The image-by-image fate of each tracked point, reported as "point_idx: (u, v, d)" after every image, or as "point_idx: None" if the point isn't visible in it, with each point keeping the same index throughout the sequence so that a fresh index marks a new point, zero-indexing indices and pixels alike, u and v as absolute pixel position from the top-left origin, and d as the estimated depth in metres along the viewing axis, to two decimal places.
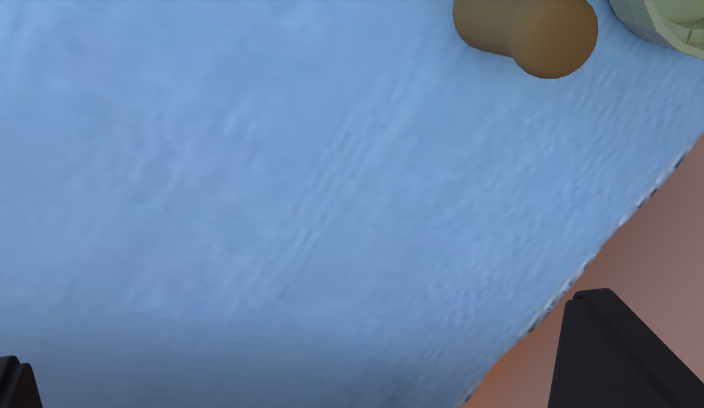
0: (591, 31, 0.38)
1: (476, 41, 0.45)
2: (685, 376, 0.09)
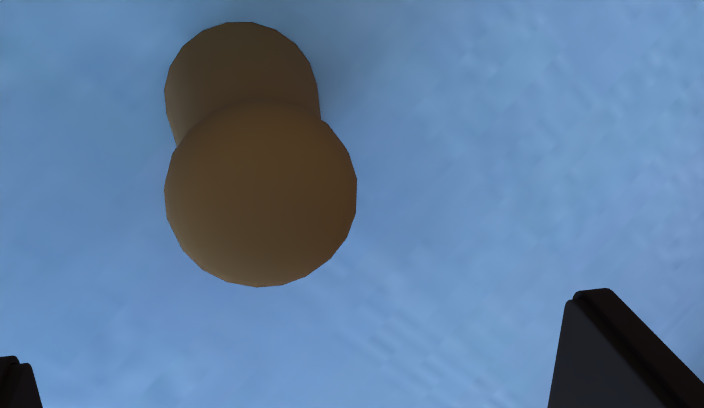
0: (266, 158, 0.16)
1: None
2: (685, 376, 0.09)
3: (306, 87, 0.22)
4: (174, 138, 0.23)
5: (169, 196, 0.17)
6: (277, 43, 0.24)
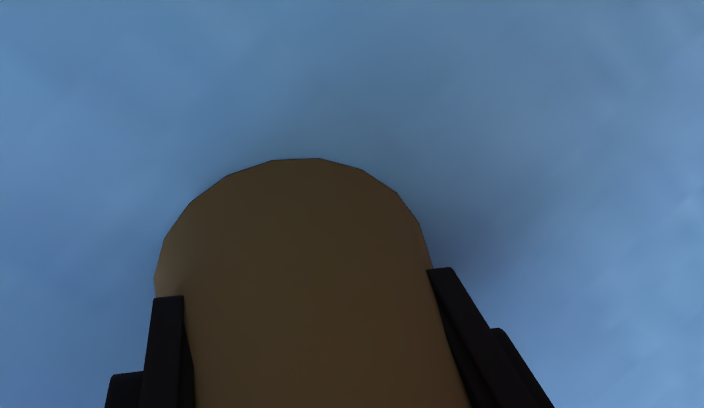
0: None
1: None
2: (489, 345, 0.10)
3: None
4: None
5: None
6: (373, 212, 0.12)
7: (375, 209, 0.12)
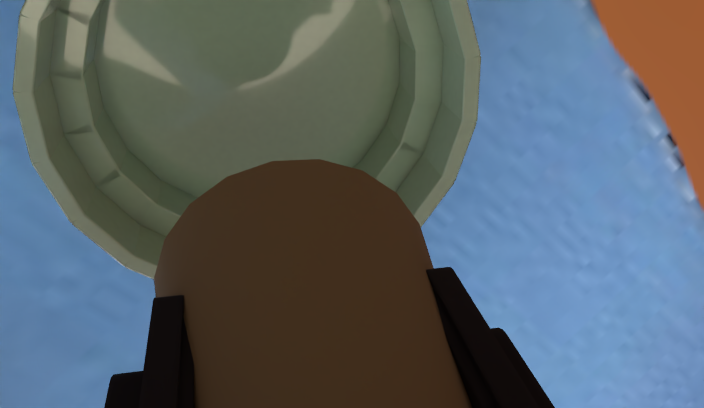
0: None
1: None
2: (489, 345, 0.10)
3: None
4: None
5: None
6: (373, 213, 0.12)
7: (375, 210, 0.12)
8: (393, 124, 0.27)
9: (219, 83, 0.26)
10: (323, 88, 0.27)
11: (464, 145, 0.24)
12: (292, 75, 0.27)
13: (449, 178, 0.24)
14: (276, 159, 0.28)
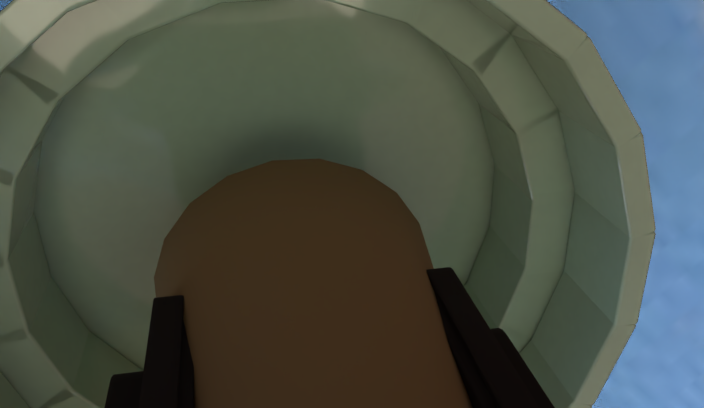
0: None
1: None
2: (489, 345, 0.10)
3: None
4: None
5: None
6: (373, 212, 0.12)
7: (375, 209, 0.12)
8: (482, 288, 0.19)
9: None
10: None
11: (613, 357, 0.15)
12: None
13: (584, 401, 0.16)
14: None
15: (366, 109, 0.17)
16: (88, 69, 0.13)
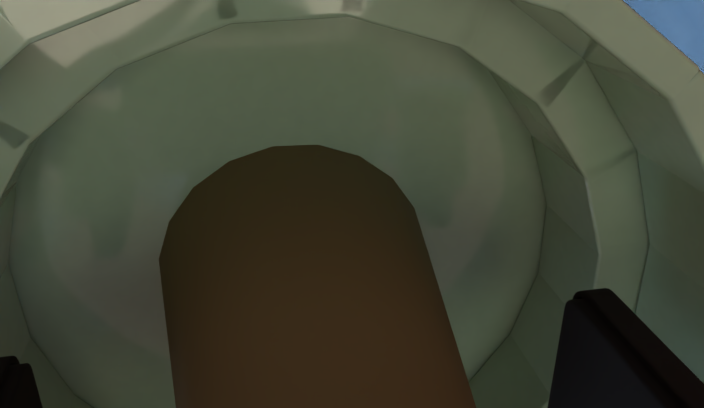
0: None
1: None
2: (685, 376, 0.09)
3: (437, 306, 0.11)
4: None
5: None
6: (369, 195, 0.13)
7: (371, 192, 0.13)
8: (530, 345, 0.16)
9: None
10: None
11: None
12: None
13: None
14: None
15: (401, 142, 0.14)
16: (66, 106, 0.10)
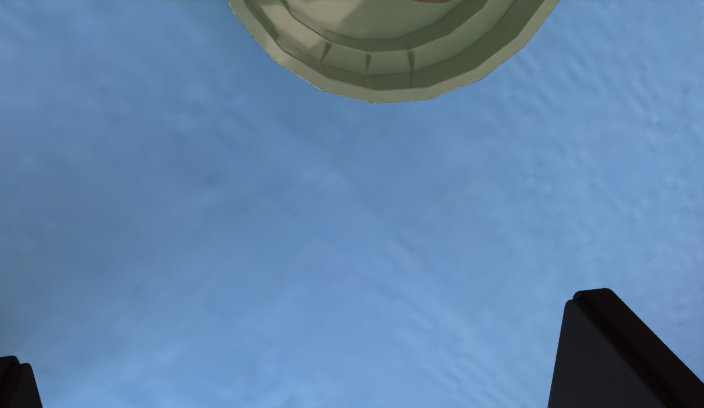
0: None
1: None
2: (685, 376, 0.09)
3: None
4: None
5: None
6: None
7: None
8: None
9: None
10: None
11: None
12: None
13: None
14: None
15: None
16: None
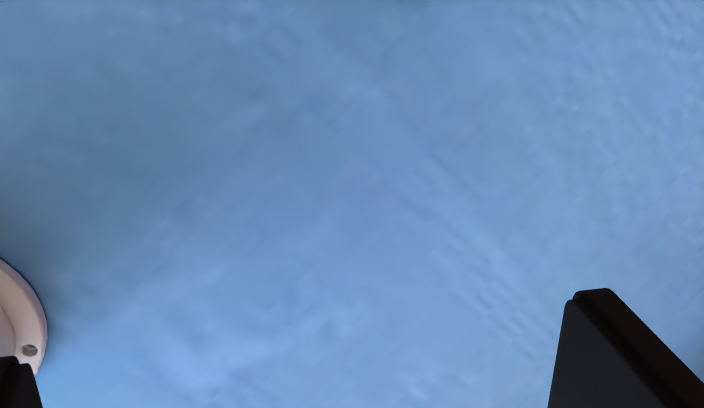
0: None
1: None
2: (685, 376, 0.09)
3: None
4: None
5: None
6: None
7: None
8: None
9: None
10: None
11: None
12: None
13: None
14: None
15: None
16: None
